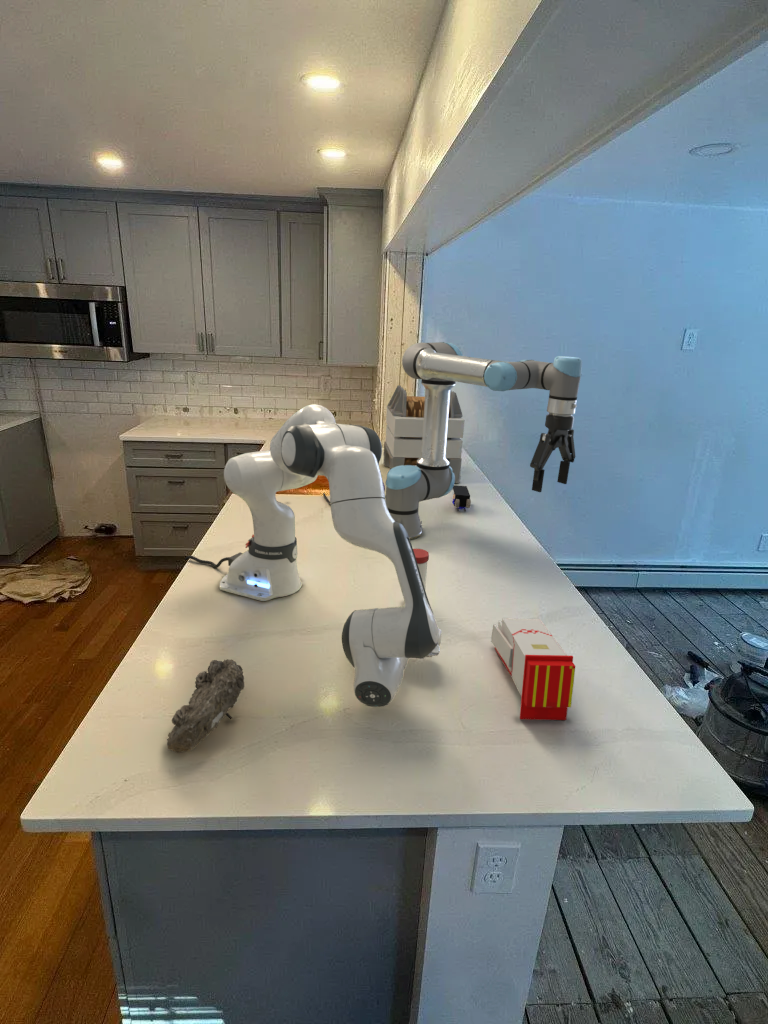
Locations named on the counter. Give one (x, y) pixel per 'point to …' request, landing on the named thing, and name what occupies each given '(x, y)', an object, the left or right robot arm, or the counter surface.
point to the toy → (535, 667)
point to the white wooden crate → (418, 431)
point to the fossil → (206, 705)
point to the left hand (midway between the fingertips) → (401, 617)
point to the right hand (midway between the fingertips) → (549, 487)
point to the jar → (422, 573)
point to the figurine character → (461, 497)
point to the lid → (421, 555)
